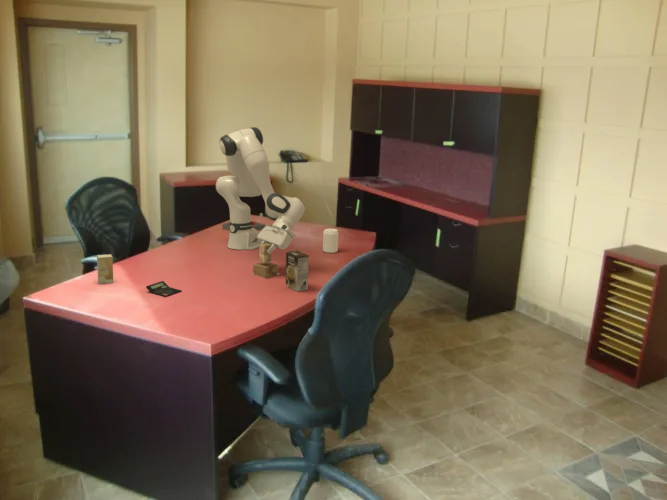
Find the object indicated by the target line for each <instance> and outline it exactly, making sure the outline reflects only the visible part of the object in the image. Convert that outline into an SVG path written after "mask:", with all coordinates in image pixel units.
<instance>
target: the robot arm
mask: <svg viewBox="0 0 667 500" xmlns="http://www.w3.org/2000/svg"><path fill="white" fill-rule="evenodd" d="M218 143H219V148H220V150H221V153H222V154H223V155H224V156H225V159H226V165H227V166H226V167H227V170H228V172H230V174H232V175H224V176H219V177H218V178H217V180H216V182H215V191H216V192H217V194H219V196H221V197H222V198H223V199H224V200H225V202H226V203H227V204H228V205H227V206H228V208H229V209H228V210H229V222H228V223H229V228H230V230H229V234H228V235H229V237H228V242H227V246H226V247H227V248H229V249H232V250H241V251H242V250H246V251H247V250H248V251H249V250H251V251H252V250H255V249H259V244H264V243H267V244H270V245H271V247H270V248H267V250H266V252H267V253H269V254H270V253H271V254H272V252H273V251H274V250H276V249H277V248H278V249H281V250H286V249H287V248H288V247H289V246H290V244H291V243H292V241H293V239H295V237H296V234H295V232H294V231H293V229H294V227H295V225H296V224H297V223H299V221H300V220H301V218H302V217H303V215H304V213H305V211H306V205H305V204H304V202H303V201H302V200H301V199H300V198H298V197H296V196H295V197H289V196H287V195H284V194H281V193H280V192H279V193H278V192H275V190H274V187H273V185H272V183H271V178H270V163H269V160H268V155H267V153H266V151H265V149H264V147H263V143H264V137H263V134H262V132H261V130H260V129H259V128H258V127H256V126H254V127H253V126H252V127H249V128H242V129H238V130H237V131H234V132H231V133H228V134H224V135H222V136H221V137H220V139H219V142H218ZM260 196H261V197H262V199H263V201H264V213H265V216H266V217H267V218H268V219H269V220H271V221H274V222H273V223H272V224H268V225H265V228H263V229H262V230H260V231H259V230H258V231H257V230H256V229H254V228H253V225H256V222H257V221H254V220H251V207H250V206H249V205H248V203H246V202H243V201H242V200H241V198H240V197H245V198H247V197H248V198H253V197H260ZM251 221H252V222H251Z"/></svg>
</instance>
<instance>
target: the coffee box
mask: <svg viewBox="0 0 667 500" xmlns="http://www.w3.org/2000/svg"><path fill="white" fill-rule="evenodd" d="M309 256H310V255H309V254H307V253H304V252H302V251H300V250H291V251H290V250H289V251H286V252H285V258H286V259H285V285H286V286H287V287H288V288H289V289H290V290H293V291H295V292H301V291H306V290H308V289H309V288H308V287H309V264H310V263H309V261H310V259H309V258H310V257H309Z"/></svg>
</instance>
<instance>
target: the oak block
mask: <svg viewBox="0 0 667 500" xmlns="http://www.w3.org/2000/svg"><path fill="white" fill-rule="evenodd" d="M270 247H271V245H270V244H267V243H264V244H259V247H258V250H259V251H258V253H259V254H258V256H259V257H258V260H259V262H263V263H266V262H270V263H272V252H271V253H270V254H269V253H267V252H266V250H267V248H270Z"/></svg>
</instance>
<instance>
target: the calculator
mask: <svg viewBox="0 0 667 500" xmlns="http://www.w3.org/2000/svg"><path fill="white" fill-rule="evenodd" d="M145 288H146V289H147V290H148V292H149V293H151V294H152V295H155V296H159V297H161V298H162V297H164V298H168V297H170V296H173V295H176V294H179V293H182V291H183V290H181V289H178V288H174V287H172V286H171V287H170V286H169V285H168V284H167V283H166V282H165V281H163V280H161V281H158V282H156V283H153V284H149V285H146V287H145Z"/></svg>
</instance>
